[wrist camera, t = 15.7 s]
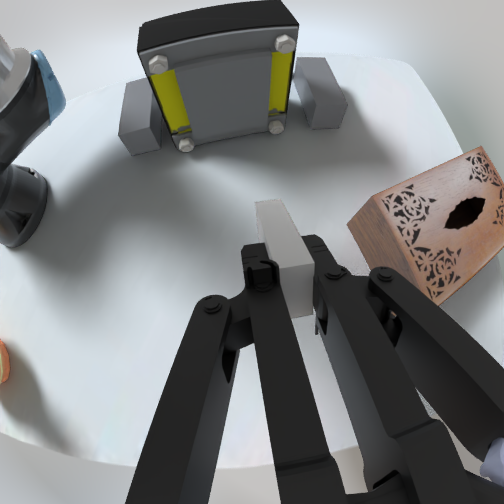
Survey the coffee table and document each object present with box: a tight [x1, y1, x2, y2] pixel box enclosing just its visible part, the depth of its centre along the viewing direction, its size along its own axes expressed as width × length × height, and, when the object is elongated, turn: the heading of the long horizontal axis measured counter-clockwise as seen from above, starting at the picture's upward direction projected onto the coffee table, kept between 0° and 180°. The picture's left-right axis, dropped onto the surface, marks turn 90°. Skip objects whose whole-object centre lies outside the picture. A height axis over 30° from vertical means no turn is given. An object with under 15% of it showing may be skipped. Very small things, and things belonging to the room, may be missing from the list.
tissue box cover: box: [347, 146, 504, 316], centre depth 34 cm, size 26×14×10 cm, turn 115°
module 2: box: [294, 57, 348, 129], centre depth 41 cm, size 5×12×6 cm, turn 8°
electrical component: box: [137, 0, 299, 152], centre depth 33 cm, size 18×10×20 cm, turn 103°
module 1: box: [118, 78, 162, 156], centre depth 40 cm, size 5×12×6 cm, turn 8°
